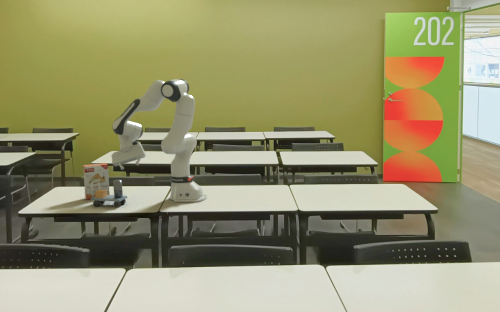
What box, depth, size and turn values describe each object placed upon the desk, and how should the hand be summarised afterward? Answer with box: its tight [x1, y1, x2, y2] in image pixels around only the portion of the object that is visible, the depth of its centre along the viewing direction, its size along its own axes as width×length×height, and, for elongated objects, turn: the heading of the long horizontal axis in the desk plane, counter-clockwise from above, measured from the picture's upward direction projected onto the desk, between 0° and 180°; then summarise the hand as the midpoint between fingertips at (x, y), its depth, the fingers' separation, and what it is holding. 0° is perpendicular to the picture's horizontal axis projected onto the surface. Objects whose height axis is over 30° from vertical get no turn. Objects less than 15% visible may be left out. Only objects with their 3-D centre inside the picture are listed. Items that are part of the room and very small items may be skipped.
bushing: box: [112, 179, 124, 199], centre depth 274 cm, size 5×5×10 cm
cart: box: [90, 179, 128, 208], centre depth 276 cm, size 18×9×14 cm, turn 77°
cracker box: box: [82, 162, 111, 201], centre depth 292 cm, size 14×6×21 cm, turn 117°
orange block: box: [95, 190, 107, 198], centre depth 277 cm, size 5×5×4 cm
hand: (129, 166), depth 284 cm, fingers open, 8 cm apart
